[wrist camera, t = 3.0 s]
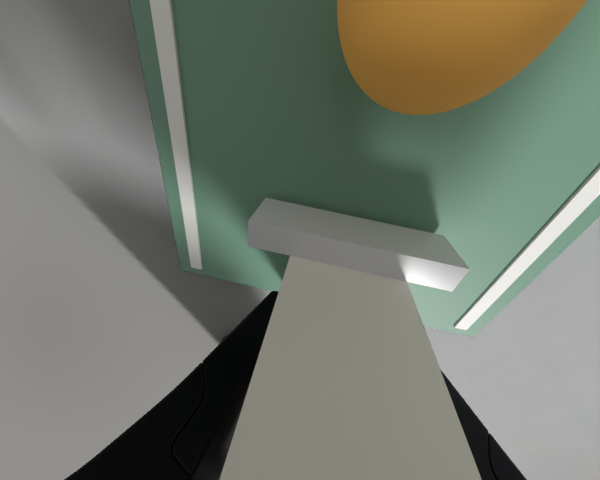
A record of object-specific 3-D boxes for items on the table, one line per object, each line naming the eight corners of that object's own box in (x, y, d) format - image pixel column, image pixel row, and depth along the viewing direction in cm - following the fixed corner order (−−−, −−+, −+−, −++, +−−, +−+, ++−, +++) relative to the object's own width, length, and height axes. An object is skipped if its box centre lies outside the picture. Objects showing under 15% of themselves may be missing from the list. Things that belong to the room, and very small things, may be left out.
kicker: (392, 317, 11) (473, 645, 4) (259, 286, 11) (144, 551, 5) (443, 235, 8) (868, 779, 2) (265, 197, 9) (12, 533, 2)
